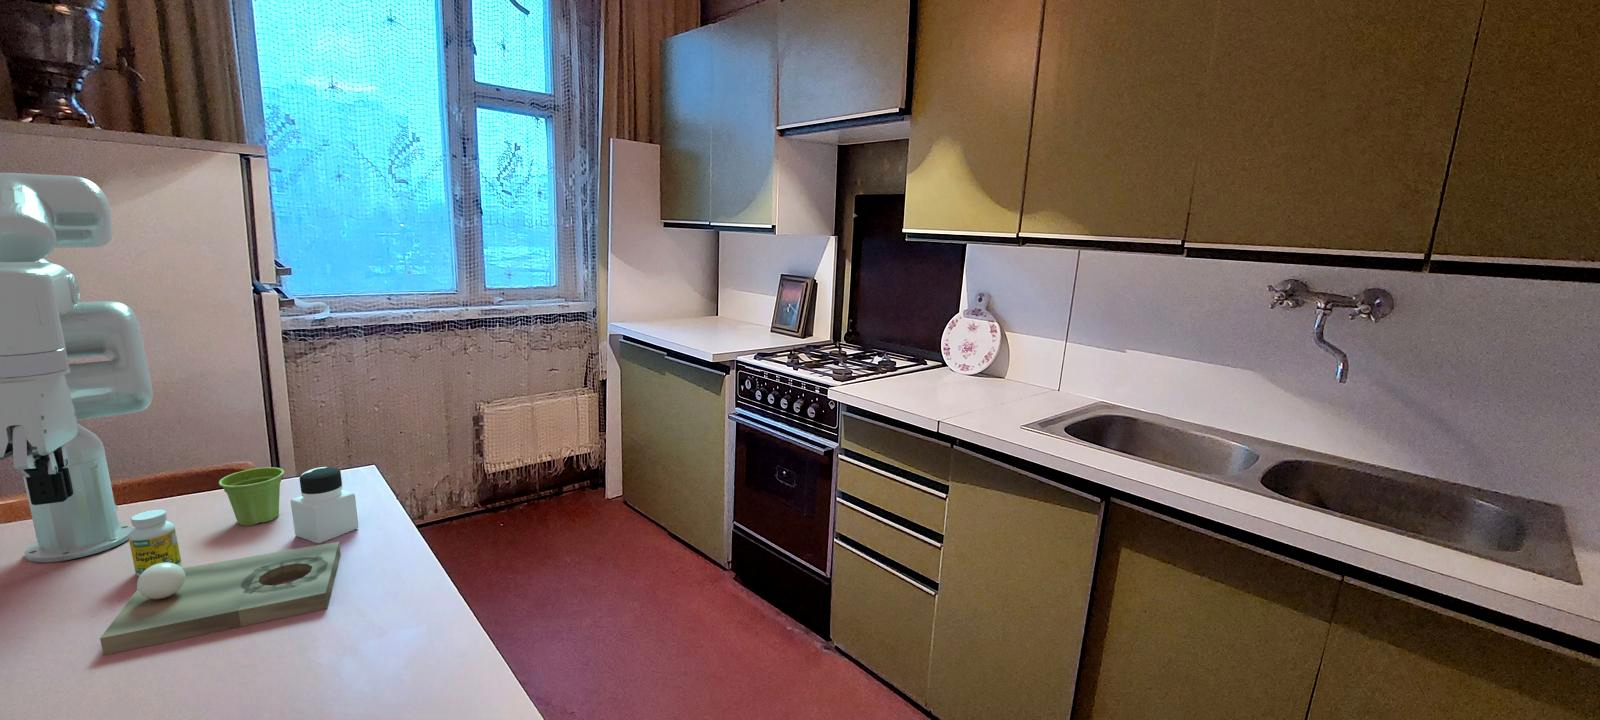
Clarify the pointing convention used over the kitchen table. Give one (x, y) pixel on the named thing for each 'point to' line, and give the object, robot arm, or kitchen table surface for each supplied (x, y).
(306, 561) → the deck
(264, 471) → the plant pot
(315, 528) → the medicine bottle
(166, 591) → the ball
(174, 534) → the supplement bottle
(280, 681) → the kitchen table surface
